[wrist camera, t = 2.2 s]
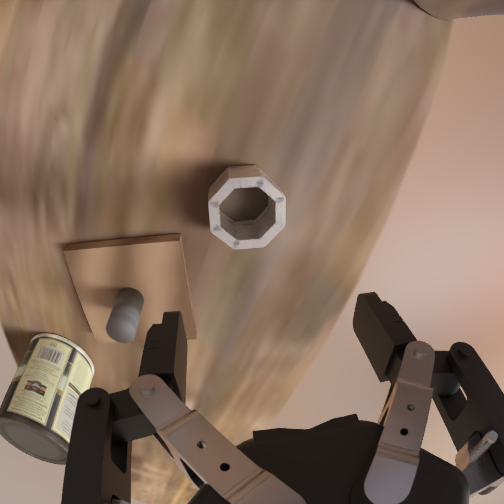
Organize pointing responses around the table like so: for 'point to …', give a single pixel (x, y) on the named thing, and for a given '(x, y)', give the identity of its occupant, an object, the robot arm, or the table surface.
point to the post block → (131, 285)
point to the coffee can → (45, 397)
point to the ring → (249, 230)
